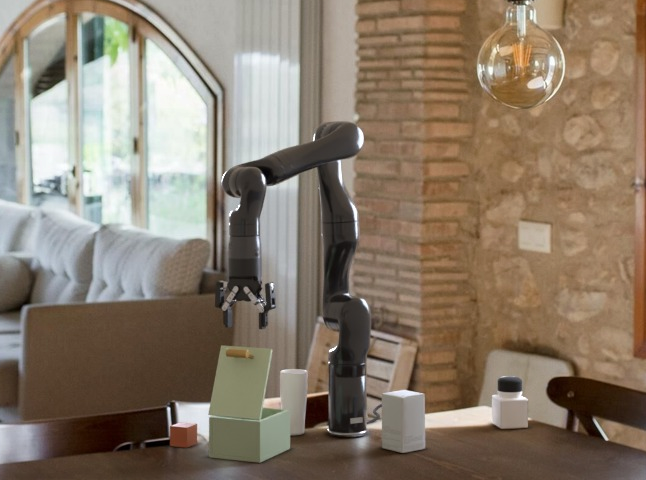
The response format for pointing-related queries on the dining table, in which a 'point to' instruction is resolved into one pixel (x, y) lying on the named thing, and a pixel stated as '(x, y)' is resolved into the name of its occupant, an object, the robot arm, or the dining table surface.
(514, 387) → the medicine bottle
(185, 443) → the block
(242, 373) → the lid
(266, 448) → the chest
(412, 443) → the white packaging box
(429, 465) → the dining table surface
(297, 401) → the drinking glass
